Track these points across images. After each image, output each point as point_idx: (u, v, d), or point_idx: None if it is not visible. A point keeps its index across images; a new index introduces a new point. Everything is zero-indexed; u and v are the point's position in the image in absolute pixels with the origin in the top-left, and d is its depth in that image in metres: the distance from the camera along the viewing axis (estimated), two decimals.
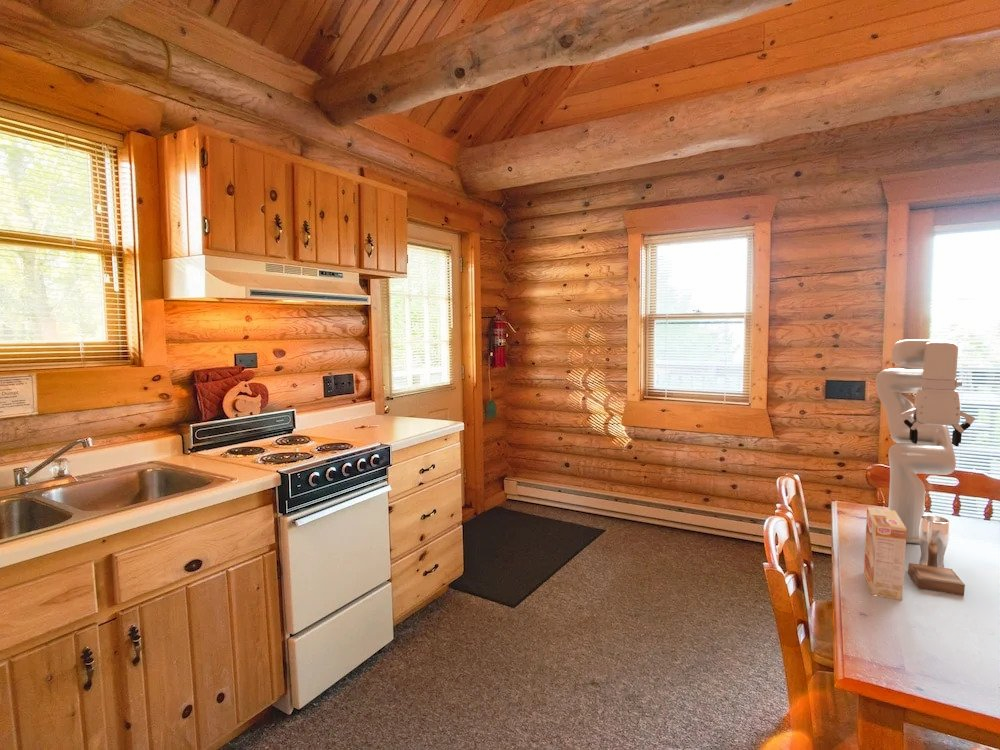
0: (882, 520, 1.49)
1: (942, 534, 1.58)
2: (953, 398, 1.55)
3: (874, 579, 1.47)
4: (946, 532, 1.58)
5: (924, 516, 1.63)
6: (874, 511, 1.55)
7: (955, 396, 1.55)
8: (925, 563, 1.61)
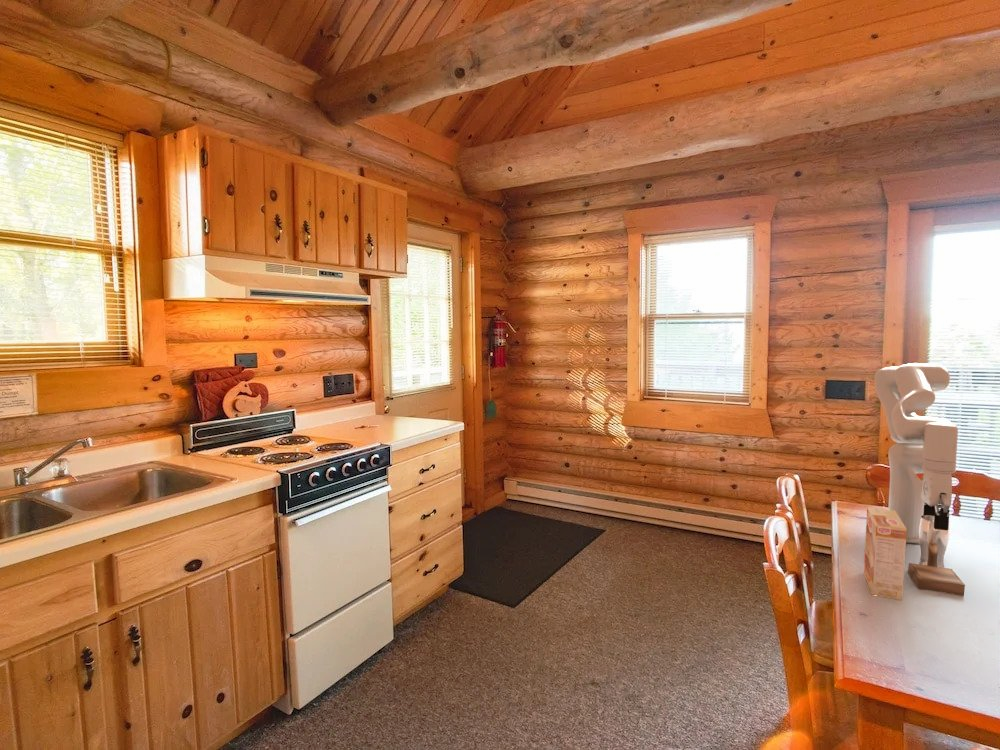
0: (882, 519, 1.49)
1: (942, 534, 1.58)
2: None
3: (874, 579, 1.47)
4: (946, 532, 1.58)
5: (924, 516, 1.63)
6: (874, 511, 1.55)
7: None
8: (925, 563, 1.61)
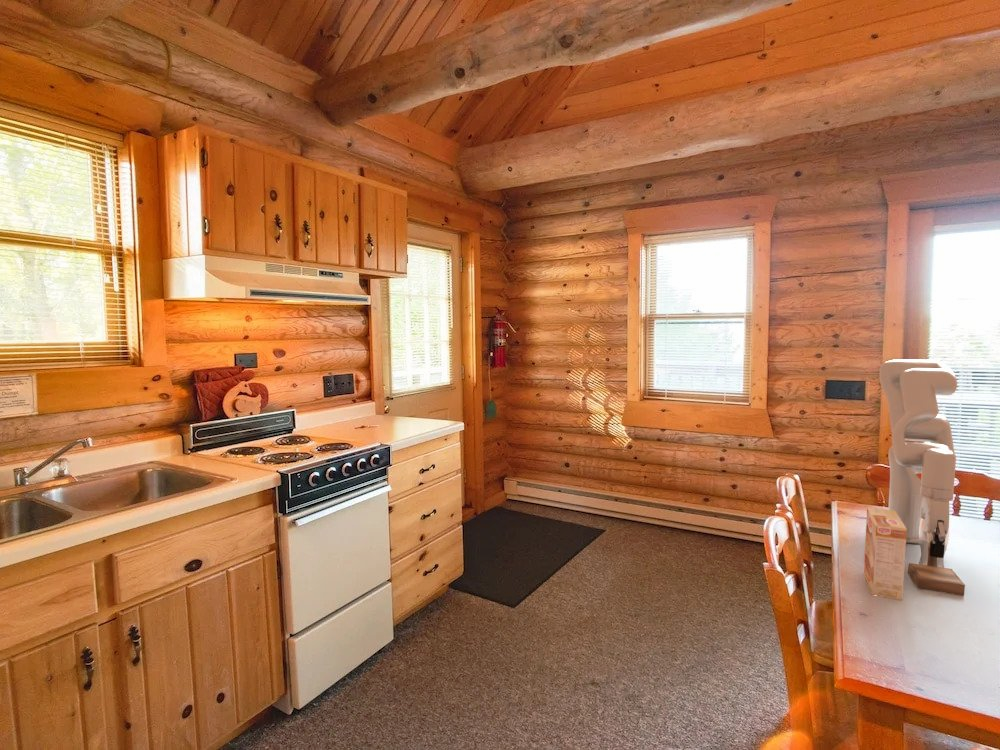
0: (882, 519, 1.49)
1: None
2: None
3: (874, 579, 1.47)
4: None
5: None
6: (874, 511, 1.55)
7: None
8: (925, 563, 1.61)
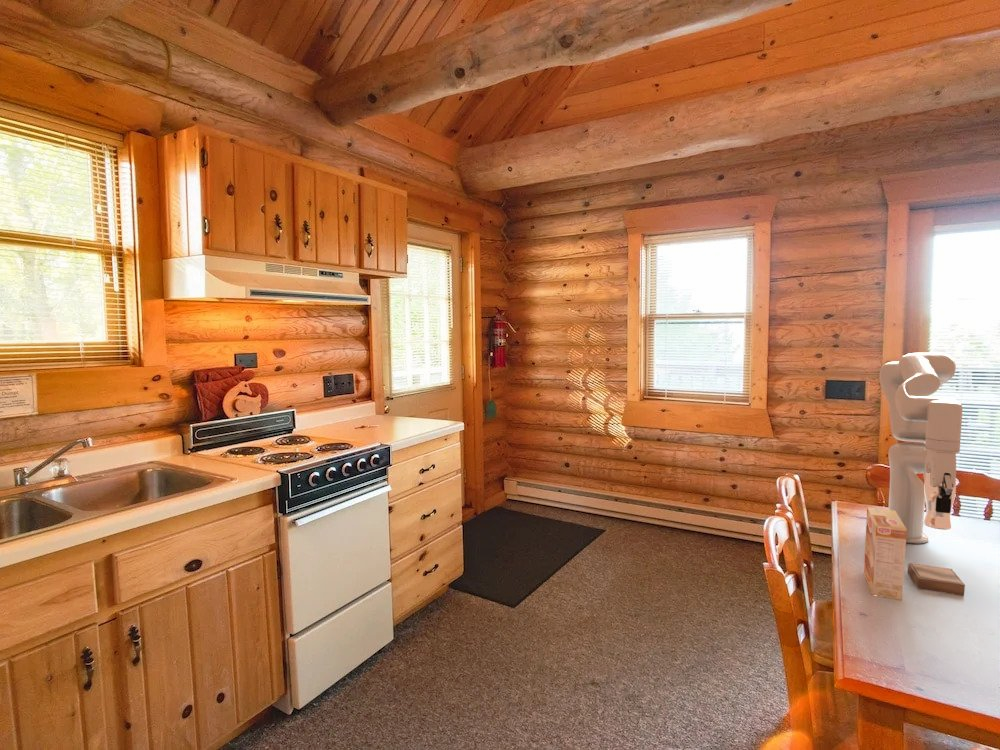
0: (882, 520, 1.49)
1: None
2: None
3: (874, 579, 1.47)
4: None
5: None
6: (874, 511, 1.55)
7: None
8: (931, 520, 1.54)
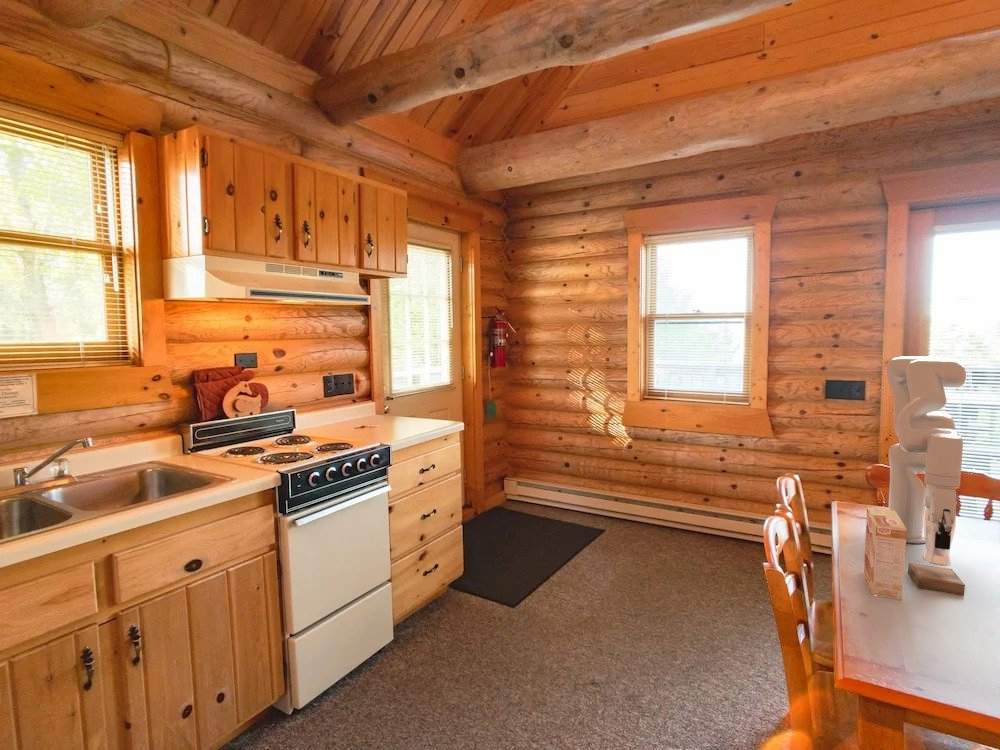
0: (882, 519, 1.49)
1: None
2: None
3: (874, 579, 1.47)
4: None
5: None
6: (874, 511, 1.55)
7: None
8: (930, 555, 1.51)
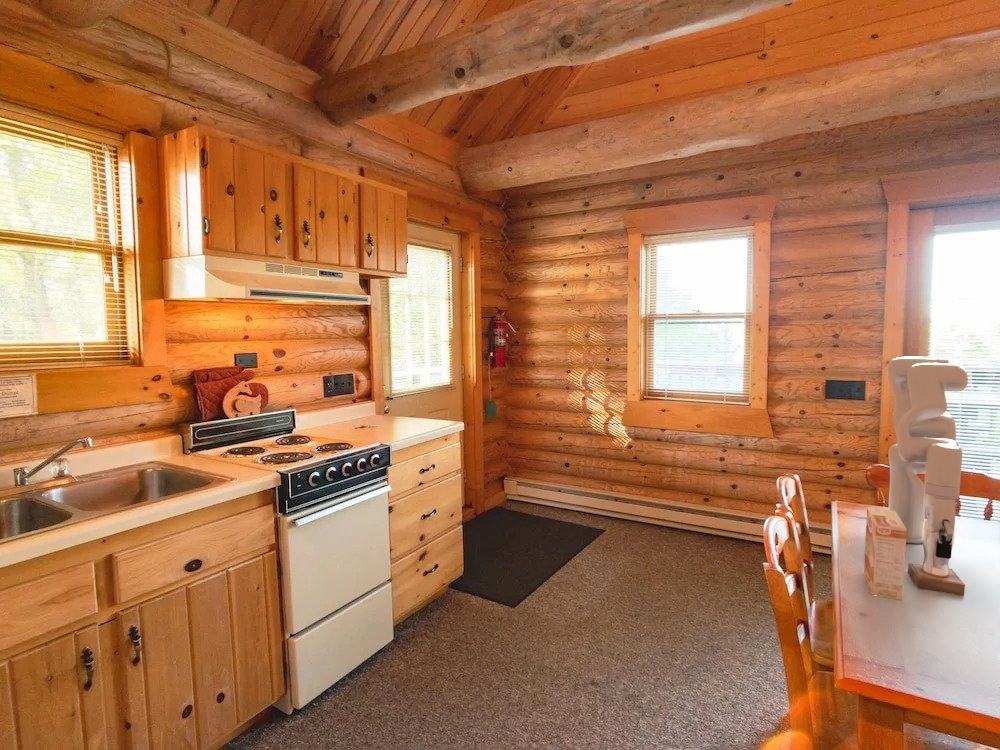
0: (882, 519, 1.49)
1: None
2: None
3: (874, 579, 1.47)
4: None
5: None
6: (874, 511, 1.55)
7: None
8: (929, 567, 1.52)
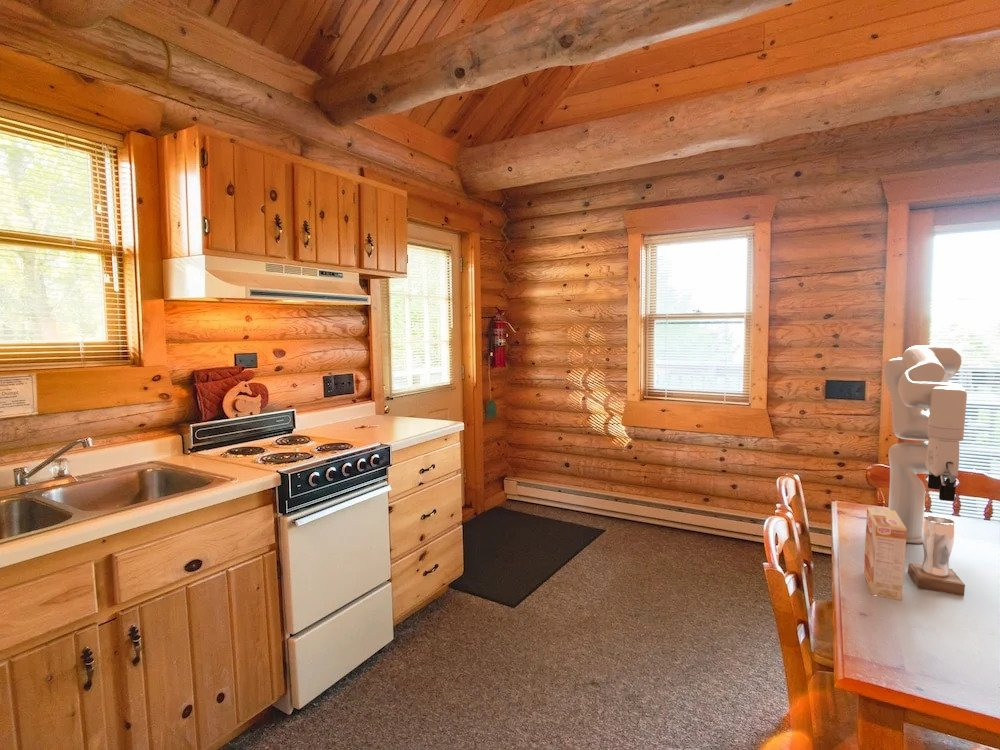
0: (882, 519, 1.49)
1: (947, 536, 1.48)
2: None
3: (874, 579, 1.47)
4: (951, 534, 1.48)
5: (927, 517, 1.54)
6: (874, 511, 1.55)
7: None
8: (929, 567, 1.52)
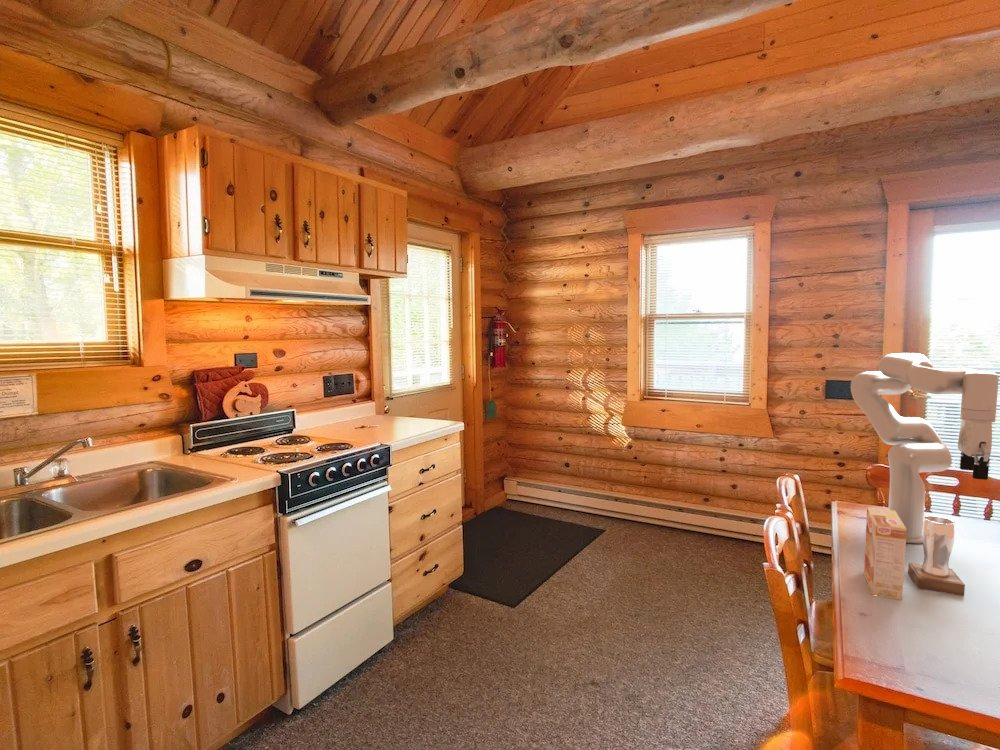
0: (882, 519, 1.49)
1: (947, 536, 1.48)
2: None
3: (874, 579, 1.47)
4: (951, 534, 1.48)
5: (928, 517, 1.54)
6: (873, 511, 1.55)
7: None
8: (929, 567, 1.52)
